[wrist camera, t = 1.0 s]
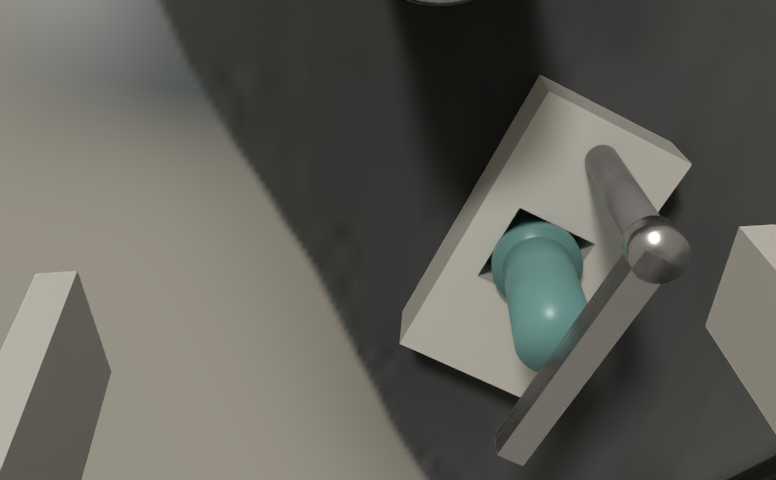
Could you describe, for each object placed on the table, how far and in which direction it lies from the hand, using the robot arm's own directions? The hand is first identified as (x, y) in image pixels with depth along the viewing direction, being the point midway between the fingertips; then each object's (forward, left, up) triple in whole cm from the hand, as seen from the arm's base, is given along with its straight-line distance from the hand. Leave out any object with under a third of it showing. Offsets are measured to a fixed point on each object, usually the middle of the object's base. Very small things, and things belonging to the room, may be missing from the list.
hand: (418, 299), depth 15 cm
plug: (-11, +8, -28) cm, 31 cm away
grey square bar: (-11, +6, -15) cm, 20 cm away
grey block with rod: (-11, +8, -30) cm, 33 cm away
